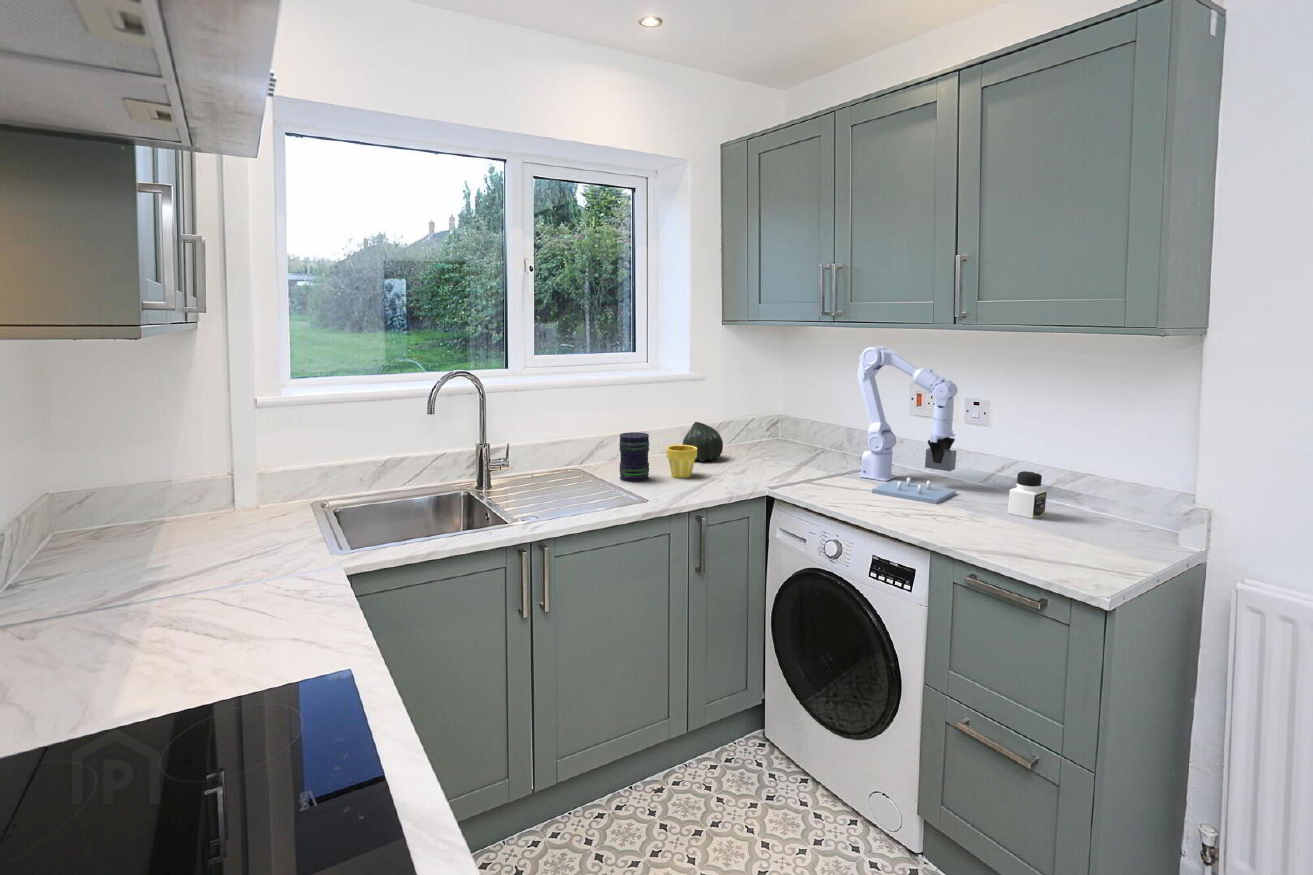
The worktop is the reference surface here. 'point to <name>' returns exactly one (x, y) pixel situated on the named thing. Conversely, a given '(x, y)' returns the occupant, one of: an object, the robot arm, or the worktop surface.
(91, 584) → the worktop surface
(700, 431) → the squash
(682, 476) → the plant pot
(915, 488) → the tray
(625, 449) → the storage jar
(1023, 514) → the medicine bottle
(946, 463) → the grey notched block
